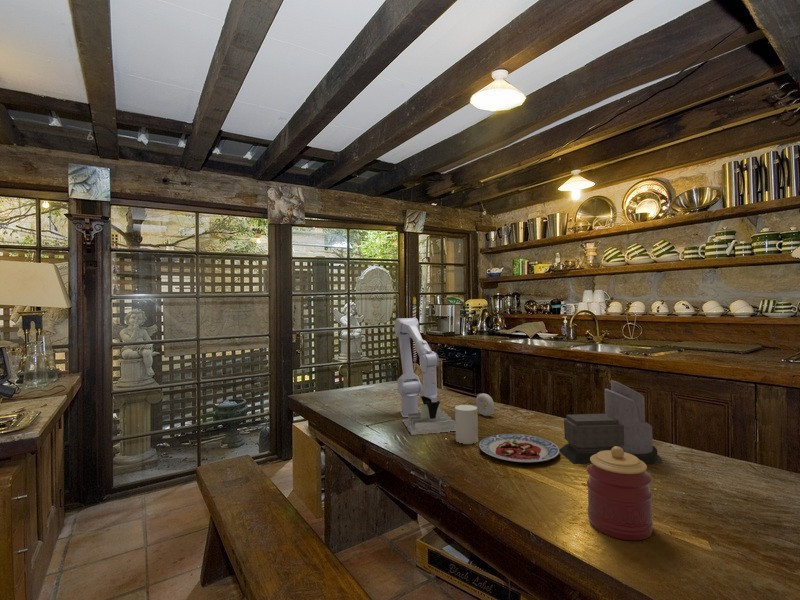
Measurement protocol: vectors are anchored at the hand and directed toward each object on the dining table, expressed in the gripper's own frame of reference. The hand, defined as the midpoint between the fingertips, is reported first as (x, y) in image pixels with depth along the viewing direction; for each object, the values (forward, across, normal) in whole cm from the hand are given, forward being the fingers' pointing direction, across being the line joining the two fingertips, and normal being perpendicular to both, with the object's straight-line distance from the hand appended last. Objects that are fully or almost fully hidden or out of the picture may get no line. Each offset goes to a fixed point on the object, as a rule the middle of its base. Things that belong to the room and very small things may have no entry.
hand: (430, 415), depth 166 cm
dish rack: (+4, 0, 0) cm, 4 cm away
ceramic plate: (+5, +34, +22) cm, 41 cm away
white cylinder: (+5, +19, +9) cm, 22 cm away
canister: (+5, +80, +24) cm, 84 cm away
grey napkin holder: (+5, +44, +50) cm, 66 cm away
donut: (+5, -9, +27) cm, 29 cm away
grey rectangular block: (+3, 0, 0) cm, 3 cm away
